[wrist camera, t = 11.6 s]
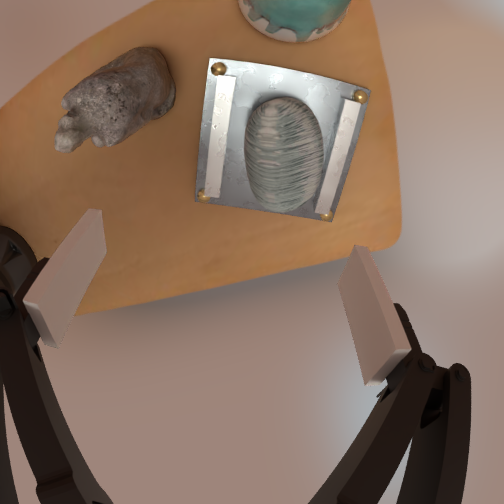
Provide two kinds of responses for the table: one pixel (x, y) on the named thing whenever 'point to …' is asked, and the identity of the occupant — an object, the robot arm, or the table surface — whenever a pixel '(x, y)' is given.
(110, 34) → the table surface
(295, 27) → the vase
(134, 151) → the table surface
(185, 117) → the table surface
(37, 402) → the robot arm
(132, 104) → the figurine
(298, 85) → the carrier
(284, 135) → the grey rock
